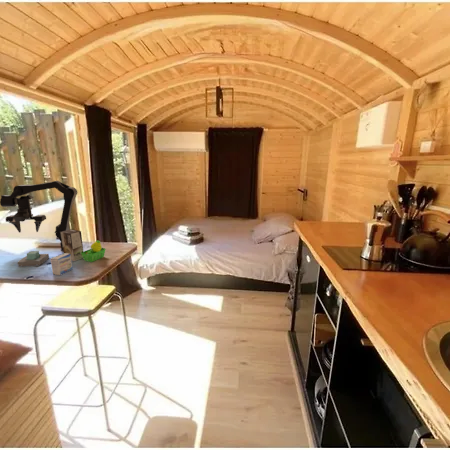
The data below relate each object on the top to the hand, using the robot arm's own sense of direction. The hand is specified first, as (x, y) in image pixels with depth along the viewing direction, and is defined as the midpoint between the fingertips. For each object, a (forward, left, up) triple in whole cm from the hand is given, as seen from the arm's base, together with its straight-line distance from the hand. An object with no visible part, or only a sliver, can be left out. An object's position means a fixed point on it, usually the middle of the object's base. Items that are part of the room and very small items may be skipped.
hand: (28, 232), depth 151 cm
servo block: (-10, +19, -12) cm, 25 cm away
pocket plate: (-10, +19, -12) cm, 25 cm away
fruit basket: (-41, +19, -12) cm, 47 cm away
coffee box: (-29, +16, -12) cm, 35 cm away
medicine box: (-30, +35, -12) cm, 48 cm away
